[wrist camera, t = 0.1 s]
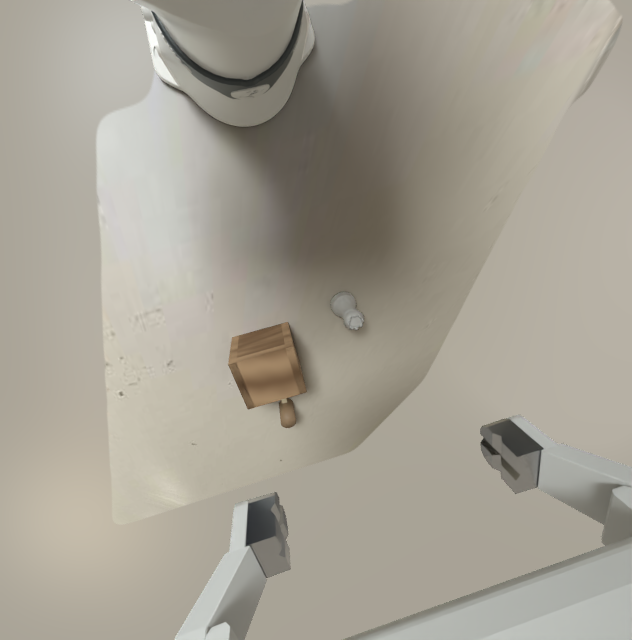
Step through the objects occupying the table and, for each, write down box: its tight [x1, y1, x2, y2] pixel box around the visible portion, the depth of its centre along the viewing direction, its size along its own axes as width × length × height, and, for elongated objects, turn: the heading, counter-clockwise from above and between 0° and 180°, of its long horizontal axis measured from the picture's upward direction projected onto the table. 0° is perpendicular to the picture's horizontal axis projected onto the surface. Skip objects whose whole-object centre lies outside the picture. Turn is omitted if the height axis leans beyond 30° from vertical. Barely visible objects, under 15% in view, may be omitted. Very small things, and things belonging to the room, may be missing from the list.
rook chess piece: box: [330, 292, 364, 330], centre depth 48 cm, size 4×4×8 cm
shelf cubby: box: [228, 322, 307, 409], centre depth 49 cm, size 9×10×8 cm
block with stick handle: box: [279, 398, 296, 428], centre depth 54 cm, size 16×5×5 cm, turn 12°
